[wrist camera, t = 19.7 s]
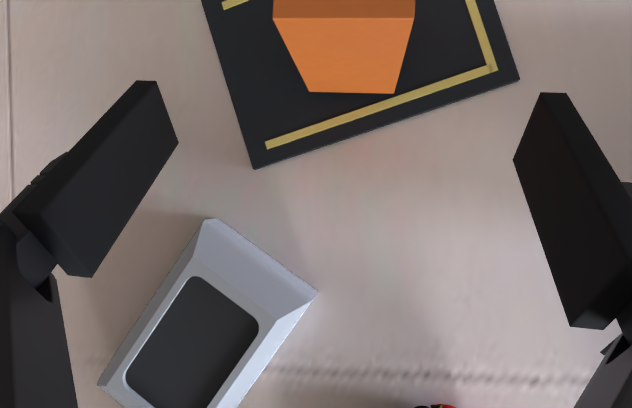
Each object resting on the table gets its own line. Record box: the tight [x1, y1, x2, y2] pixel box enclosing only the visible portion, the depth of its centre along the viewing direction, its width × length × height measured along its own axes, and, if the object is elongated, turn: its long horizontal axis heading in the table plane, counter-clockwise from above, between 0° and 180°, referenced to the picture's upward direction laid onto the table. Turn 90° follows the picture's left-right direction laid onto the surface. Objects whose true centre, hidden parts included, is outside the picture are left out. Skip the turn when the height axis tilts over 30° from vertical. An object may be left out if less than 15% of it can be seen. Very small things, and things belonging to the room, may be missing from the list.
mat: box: [201, 0, 520, 170], centre depth 28 cm, size 20×14×1 cm
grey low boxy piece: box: [97, 218, 317, 408], centre depth 28 cm, size 10×4×15 cm
